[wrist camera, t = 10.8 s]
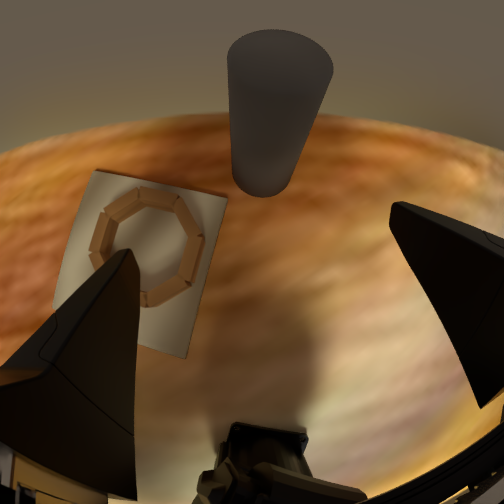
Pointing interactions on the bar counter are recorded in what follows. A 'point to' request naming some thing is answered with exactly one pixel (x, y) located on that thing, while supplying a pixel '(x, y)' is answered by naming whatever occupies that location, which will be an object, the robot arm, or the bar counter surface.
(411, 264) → the robot arm
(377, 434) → the bar counter surface
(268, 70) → the dark grey cylinder
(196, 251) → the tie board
